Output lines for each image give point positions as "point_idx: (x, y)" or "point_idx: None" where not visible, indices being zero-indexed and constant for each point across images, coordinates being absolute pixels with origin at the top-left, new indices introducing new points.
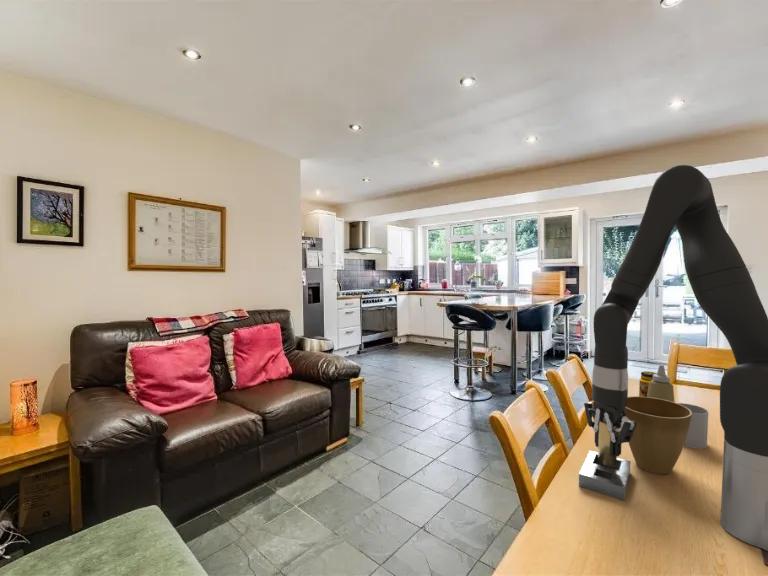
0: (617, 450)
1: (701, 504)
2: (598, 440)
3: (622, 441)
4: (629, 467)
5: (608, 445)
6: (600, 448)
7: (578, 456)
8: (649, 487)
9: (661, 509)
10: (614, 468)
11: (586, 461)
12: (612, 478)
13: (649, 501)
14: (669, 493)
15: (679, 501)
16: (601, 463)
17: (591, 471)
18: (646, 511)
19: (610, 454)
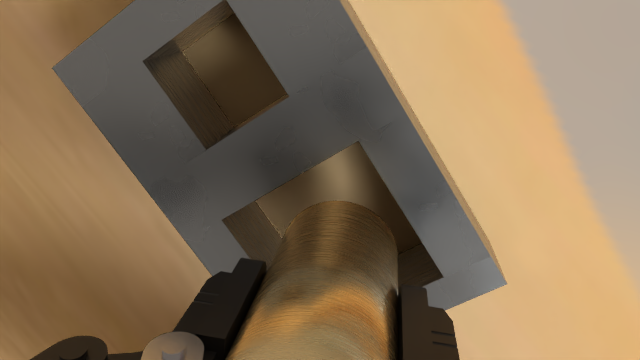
0: (194, 305)
1: (34, 349)
2: (372, 308)
3: (37, 357)
4: None
5: (260, 301)
6: (337, 256)
7: (572, 233)
8: (175, 288)
9: (22, 169)
10: None
11: (396, 119)
12: (155, 91)
13: (81, 178)
14: (118, 318)
15: (62, 297)
16: (409, 261)
17: (270, 27)
18: (15, 85)
19: (259, 260)
